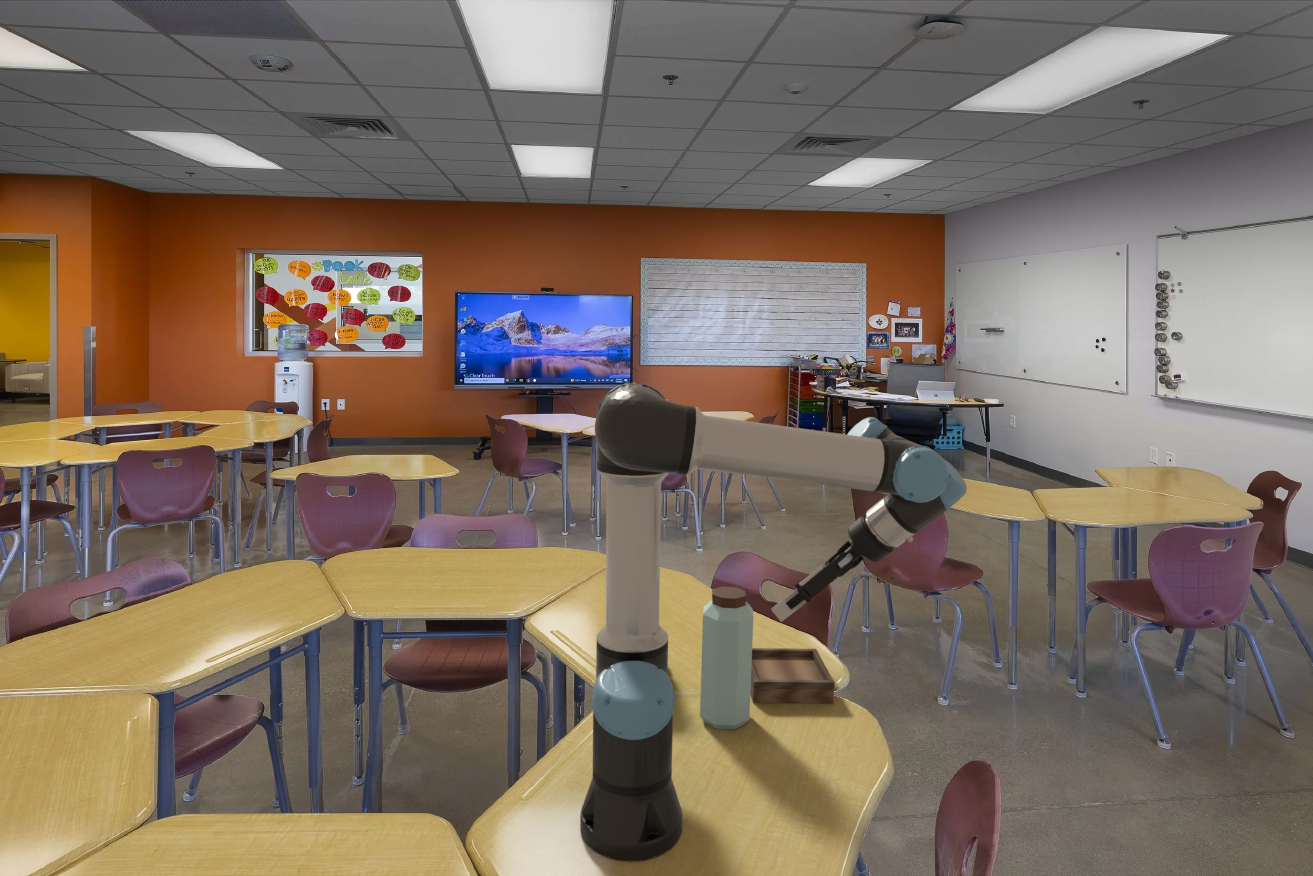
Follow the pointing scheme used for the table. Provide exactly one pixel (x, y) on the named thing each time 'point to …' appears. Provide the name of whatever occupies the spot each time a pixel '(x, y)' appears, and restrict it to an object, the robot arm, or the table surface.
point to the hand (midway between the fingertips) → (789, 602)
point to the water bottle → (726, 659)
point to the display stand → (790, 677)
